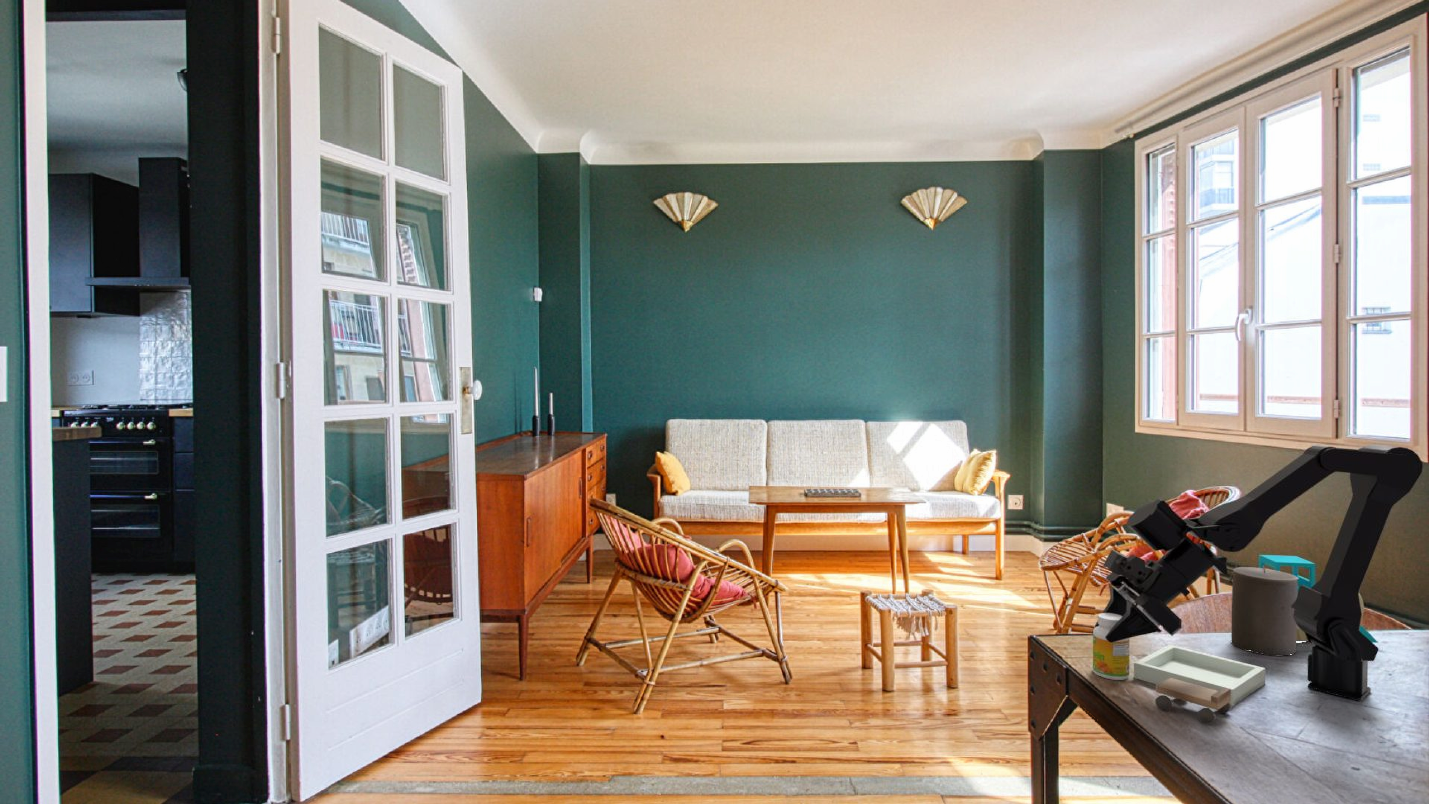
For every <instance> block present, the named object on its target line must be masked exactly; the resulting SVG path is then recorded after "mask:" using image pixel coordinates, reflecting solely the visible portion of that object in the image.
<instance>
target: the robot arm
mask: <svg viewBox="0 0 1429 804" xmlns="http://www.w3.org/2000/svg"><path fill="white" fill-rule="evenodd" d="M1424 466H1425V465H1424V461H1422V459H1421V457H1420V456H1419V454H1418V453H1416V452H1415V451H1414V450H1413V449H1410V448H1408V447H1401V446H1400V447H1399V446H1392V445H1384V444H1375V443H1374V444H1367V445H1365V446H1363V447H1361V448H1358V449H1356V448H1343V447H1340V448H1339V447H1334V446H1327V445H1320V444H1317V445H1311V446H1309V447H1308V448H1306V449H1305V450H1304V452H1303V453H1302V454H1301V455H1299V456H1298V457H1297V458H1295V459H1293V460H1291V462H1290V463H1288V464H1287V465H1285V466H1284V467H1283V468H1281V469H1280V470H1278V471H1277V472H1275V473H1274V474H1273V475H1272V476H1270V477H1269V478H1267V479H1266V480H1264V481H1263V482H1262V483H1260V484H1259V485H1257V486H1256V487H1255V488H1253V490H1251V491H1249V492H1248V493H1247V494H1245V495H1244V496H1242V497H1240V498H1237V499H1235V500H1232V501H1229V502H1225V503H1223V504H1220V505H1218V506H1216V507H1213V508H1212V509H1210V510H1208V511H1205V512H1204V513H1202V514H1201V515H1200V516H1199V517H1191V518H1182V517H1180V516H1179V515H1178V514H1177V513H1176V512H1175V511H1174V510H1173V509H1172V507H1170V506H1171V505H1170V504H1169V503H1167V501H1165V500H1164V499H1161V498H1156V499H1155V501H1153V502H1150V503H1148V504H1146V505H1144V506H1142V507H1140V508H1138V509H1136V510H1135V511H1134V512H1132V513H1131V515H1130V516H1129V517H1128V519H1127V522H1126V525H1127V527H1128V528H1130V529H1131V530H1132V532H1134V533H1135V534H1136V535H1137V536H1138V537H1139V538H1140V539H1141V540H1142V541H1143V542H1144V543H1145V544H1146V545H1147V546H1148V547H1149V548H1151V549H1152V550H1153V551H1154V552H1156V551H1161V550H1162V551H1163V552H1166V553H1164V554H1163V555H1162V556H1161V557H1160V558H1158V560H1157V561H1155V560H1153V559H1147V560H1146V561H1145V559H1143V558H1141V557H1139V556H1136V555H1135V554H1131V555H1129V556H1127V555H1125V554H1123V553H1121V552H1118V551H1116V550H1114V549H1111V550H1110V551H1109V553H1108V555H1107V557H1106V559H1105V561H1104V563H1103V568H1107V570H1108V571H1109V572H1110V574H1108V575H1107V576H1106V577H1105V579H1106V580H1107V582H1109V583H1110V584H1108V588H1109V597H1110V598H1109V601H1107V602H1108V603H1107V604H1106V606H1105V608H1104V609H1103V611H1102V613H1112V614H1118V615H1121V616H1123V617H1122V618H1121V619H1120V620H1119V621H1118V622H1117V623H1116V624H1115V626H1114V627H1113V628H1112V629H1111V630H1110V631H1109V633H1108V634H1107V635H1106V636H1105V638H1106V639H1107V640H1108V641H1109V642H1115V641H1119V640H1123V639H1127V638H1130V639H1131V638H1134V637H1138V636H1144V635H1147V634H1148V635H1150V634H1153V633H1160V634H1161V633H1162V632H1163V631H1162V630H1161V629H1160V627H1162V629H1163V630H1164V631H1165V632H1166V633H1167V634H1169V635H1170V636H1171V637H1173V636H1174V635H1176V633H1178V632H1179V631H1180V630H1181V629H1182V619H1181V618H1180V617H1179V615H1177V613H1175V612H1174V611H1173V610H1172V609H1171V608H1170V607H1169V606H1168V605H1169V604H1170V603H1172V601H1174V600H1175V599H1176V598H1178V597H1179V596H1180V595H1183V596H1185V597H1187V596H1188V595H1189V594H1191V591H1190V590H1189V589H1188V588H1190V586H1192V585H1193V584H1194V583H1195V582H1196V581H1197V580H1198V579H1200V578H1201V577H1202V576H1204V575H1205V574H1206V573H1207V572H1208V571H1209V570H1210V569H1213V570H1214V571H1216V572H1218V573H1220V574H1221V575H1224V576H1226V575H1228V567H1227V566H1228V565H1227V561H1228V557H1226V556H1223V555H1222V554H1216V553H1214V551H1212V550H1211V549H1210V548H1209V547H1208V546H1207V545H1206V544H1208V545H1209V546H1212V547H1214V548H1216V549H1218V550H1221V551H1224V552H1226V553H1227V552H1228V553H1237V552H1240V551H1242V550H1245V548H1247V546H1249V545H1250V544H1251V543H1252V542H1253V540H1255V539H1256V538H1257V537H1258V536H1259V535H1260V534H1261V531H1262V530H1263V528H1264V526H1265V524H1266V523H1267V521H1269V519H1270V518H1272V516H1274V515H1275V514H1277V513H1278V512H1280V511H1282V510H1283V509H1284V508H1285V507H1286V506H1288V505H1289V504H1291V503H1292V502H1293V501H1295V500H1297V499H1298V498H1299V497H1301V496H1302V495H1304V494H1305V493H1306V492H1308V491H1309V490H1311V489H1312V488H1313V487H1315V486H1317V485H1318V484H1319V483H1320V482H1322V481H1323V480H1325V479H1326V478H1328V477H1329V476H1330V475H1332V474H1334V473H1346V474H1347V473H1348V474H1349V480H1350V486H1351V493H1352V497H1351V500H1350V502H1349V504H1348V508H1347V511H1346V513H1345V515H1344V518H1343V521H1342V523H1341V526H1340V529H1339V531H1338V535H1337V537H1336V539H1335V541H1334V544H1333V547H1332V550H1331V553H1330V554H1329V557H1328V560H1327V562H1326V564H1325V568H1324V570H1323V572H1322V575H1321V577H1320V579H1319V580H1318V581H1317V582H1315V585H1314V586H1312V587H1311V588H1308V587H1306V586H1304V585H1301V586H1300V587H1299V590H1298V595H1297V599H1296V601H1295V602H1294V603H1293V604H1292V605H1291V608H1293V609H1295V610H1294V614H1293V618H1294V620H1295V622H1296V624H1297V626H1298V627H1299V628H1300V629H1301V630H1302V631H1304V632H1305V635H1306V637H1307V640H1308V642H1310V643H1313V644H1314V645H1313V646H1312V647H1311V653H1310V654H1308V655H1307V678H1306V679H1307V681H1308V682H1309V683H1307V684H1308V685H1307V687H1308V689H1312V690H1316V691H1318V692H1319V691H1320V692H1323V693H1328V694H1332V695H1335V696H1340V697H1343V698H1347V699H1350V700H1354V701H1355V700H1356V701H1362V700H1363V699H1364V698H1365V697H1366V696H1367V695H1369V694H1370V693H1371V691H1372V689H1371V687H1370V686H1368V677H1369V675H1368V672H1369V671H1368V666H1369V664H1368V663H1369V662H1374V661H1375V659H1376V657H1377V654H1378V652H1379V647H1378V646H1377V645H1375V643H1374V642H1371V641H1370V640H1369V639H1368V638H1367V637H1365V636H1364V635H1363V634H1362V633H1361V632H1360V631H1359V630H1360V625H1362V624H1361V623H1362V619H1363V616H1362V611H1361V605H1360V599H1359V593H1360V591H1361V588H1362V585H1363V583H1364V581H1365V578H1366V576H1367V573H1368V570H1369V568H1370V565H1371V563H1372V561H1373V557H1374V555H1375V553H1376V550H1377V547H1378V545H1379V543H1380V540H1381V537H1382V534H1383V532H1384V529H1385V527H1386V524H1387V522H1388V520H1389V516H1390V514H1391V512H1392V509H1393V507H1394V506H1395V505H1396V504H1398V503H1399V502H1400V501H1401V500H1403V499H1404V498H1405V497H1406V496H1407V495H1408V494H1410V493H1411V491H1412V490H1413V488H1414V487H1415V485H1416V484H1417V483H1418V480H1419V479H1420V477H1421V476H1422V474H1423V472H1424ZM1187 534H1188V535H1190V536H1193V537H1194V538H1197V539H1199V540H1201V541H1203V542H1204V543H1203V542H1196V543H1195V542H1194V541H1193V540H1192V539H1191V538H1190V537H1189V536H1188V535H1187ZM1205 543H1206V544H1205ZM1097 626H1099V624H1098V620H1097V621H1096V623H1095V624H1094V628H1095V627H1097Z"/></svg>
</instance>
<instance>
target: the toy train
mask: <svg viewBox="0 0 1429 804" xmlns="http://www.w3.org/2000/svg"><path fill="white" fill-rule="evenodd" d="M1265 565H1266V566H1268V567H1271V568H1273V570H1276V571H1281V567H1292V570H1291V571H1292V573H1291V574H1292V575H1294V576H1296V577H1298V578H1299V579H1298V585H1297V595H1298V590H1299V587H1300V586H1301V585H1304V586H1306V587H1308V588H1311V587H1312V586H1314V585H1315V584H1316V563H1314V562H1312V561H1310V560H1307V559H1305V558H1301V557H1299V556H1297V555H1276V554H1275V555H1273V554H1272V555H1271V554H1259V555H1258V568H1263V566H1264V567H1265ZM1299 567H1300V568H1301V567H1302V568H1305V569H1307V570H1309V571H1308V574H1309V577H1308V578H1306V577H1304V576H1301V575H1300V574H1299ZM1359 599H1360V605H1361V611H1362V617H1363V616H1364V612H1365V605H1364V599H1363V598H1362V596H1361V594H1360V592H1359ZM1359 631H1360V632H1361V633H1362V634H1363V635H1364V636H1365V637H1367V638H1368V639H1369V640H1370V641H1371V642H1372V643H1374V644H1375V643H1376V644H1379V641H1378V640H1377V639H1376V638H1375V637H1374V636H1373V635H1372V634H1371V633H1370V632H1369V631H1368V630H1367V628H1365V627H1364V626H1363V625H1362V624H1360V630H1359ZM1296 641H1308V640H1307V637H1306V635H1305V632H1304V631H1302V630H1301V629H1300V628H1299V627H1298V626H1297V630H1296ZM1308 642H1309V641H1308Z"/></svg>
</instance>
